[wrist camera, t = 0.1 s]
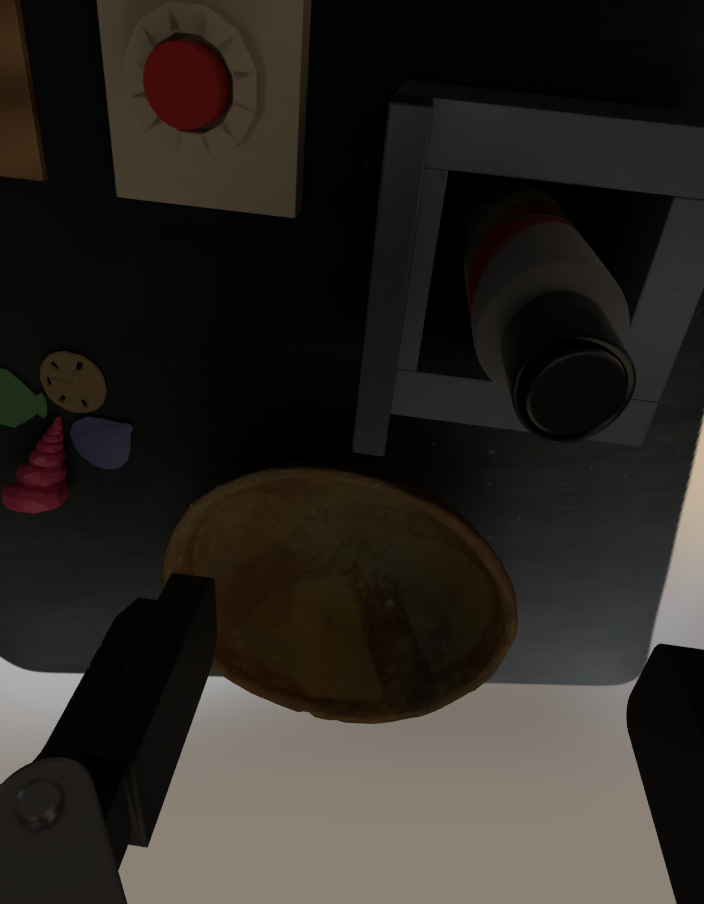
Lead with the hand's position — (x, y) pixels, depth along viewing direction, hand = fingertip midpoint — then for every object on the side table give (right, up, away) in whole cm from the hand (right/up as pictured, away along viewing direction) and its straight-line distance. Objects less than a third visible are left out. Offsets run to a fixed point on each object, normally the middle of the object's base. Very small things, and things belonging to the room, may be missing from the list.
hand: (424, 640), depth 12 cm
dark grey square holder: (+8, +16, +25) cm, 30 cm away
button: (-9, +21, +19) cm, 30 cm away
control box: (-9, +23, +22) cm, 33 cm away
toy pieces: (-23, +6, +35) cm, 42 cm away
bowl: (-1, -2, +37) cm, 37 cm away
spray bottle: (+8, +16, +25) cm, 31 cm away
